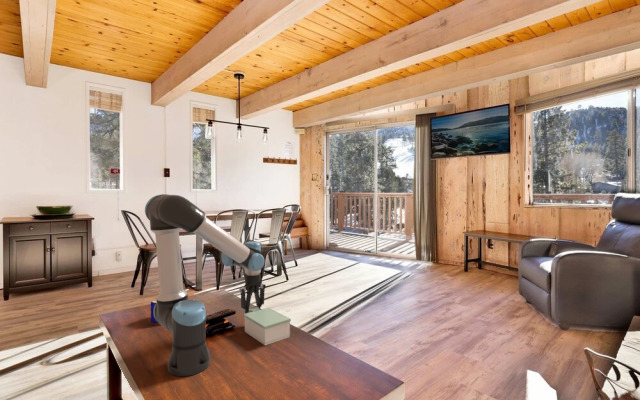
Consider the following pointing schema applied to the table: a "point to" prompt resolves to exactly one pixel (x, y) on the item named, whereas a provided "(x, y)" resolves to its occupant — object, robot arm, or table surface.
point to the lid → (266, 317)
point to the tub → (267, 332)
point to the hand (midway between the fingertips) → (252, 320)
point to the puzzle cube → (152, 311)
